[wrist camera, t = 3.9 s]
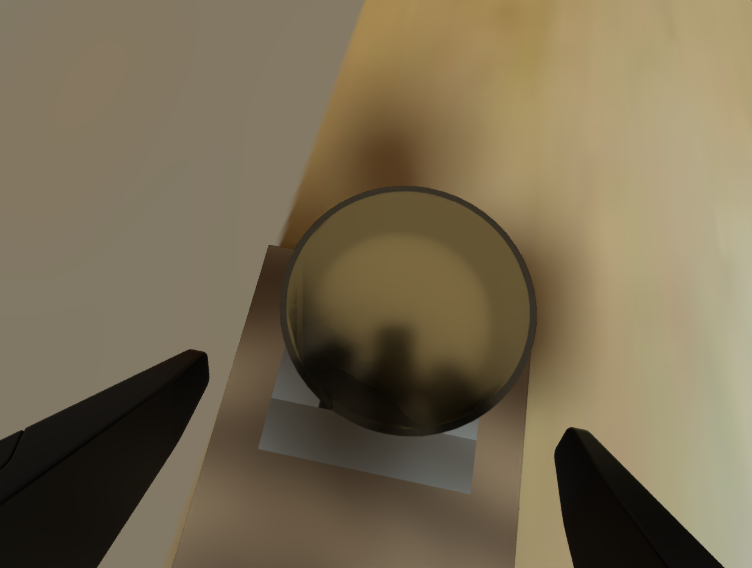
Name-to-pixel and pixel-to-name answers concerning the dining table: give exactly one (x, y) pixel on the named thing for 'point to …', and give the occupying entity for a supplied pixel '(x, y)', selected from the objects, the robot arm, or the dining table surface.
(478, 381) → the tan cylinder
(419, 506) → the walnut eye plate
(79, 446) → the robot arm
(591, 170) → the dining table surface
